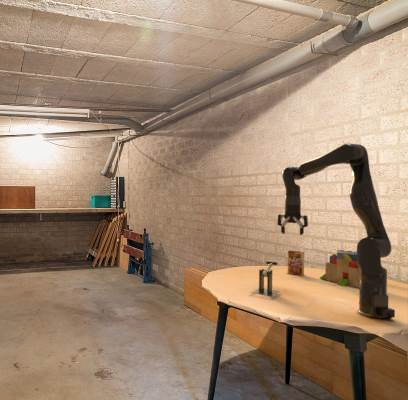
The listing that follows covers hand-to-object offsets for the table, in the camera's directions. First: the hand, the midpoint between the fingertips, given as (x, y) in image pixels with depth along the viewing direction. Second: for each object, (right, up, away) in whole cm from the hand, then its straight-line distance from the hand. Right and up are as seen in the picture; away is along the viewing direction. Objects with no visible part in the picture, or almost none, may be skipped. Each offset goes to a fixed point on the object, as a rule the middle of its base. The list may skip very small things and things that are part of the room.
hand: (292, 234), depth 184 cm
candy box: (+24, -30, +40) cm, 56 cm away
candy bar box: (+56, -31, +37) cm, 74 cm away
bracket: (-19, -30, -9) cm, 36 cm away
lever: (-15, -18, -6) cm, 24 cm away
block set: (+40, -31, +16) cm, 53 cm away
